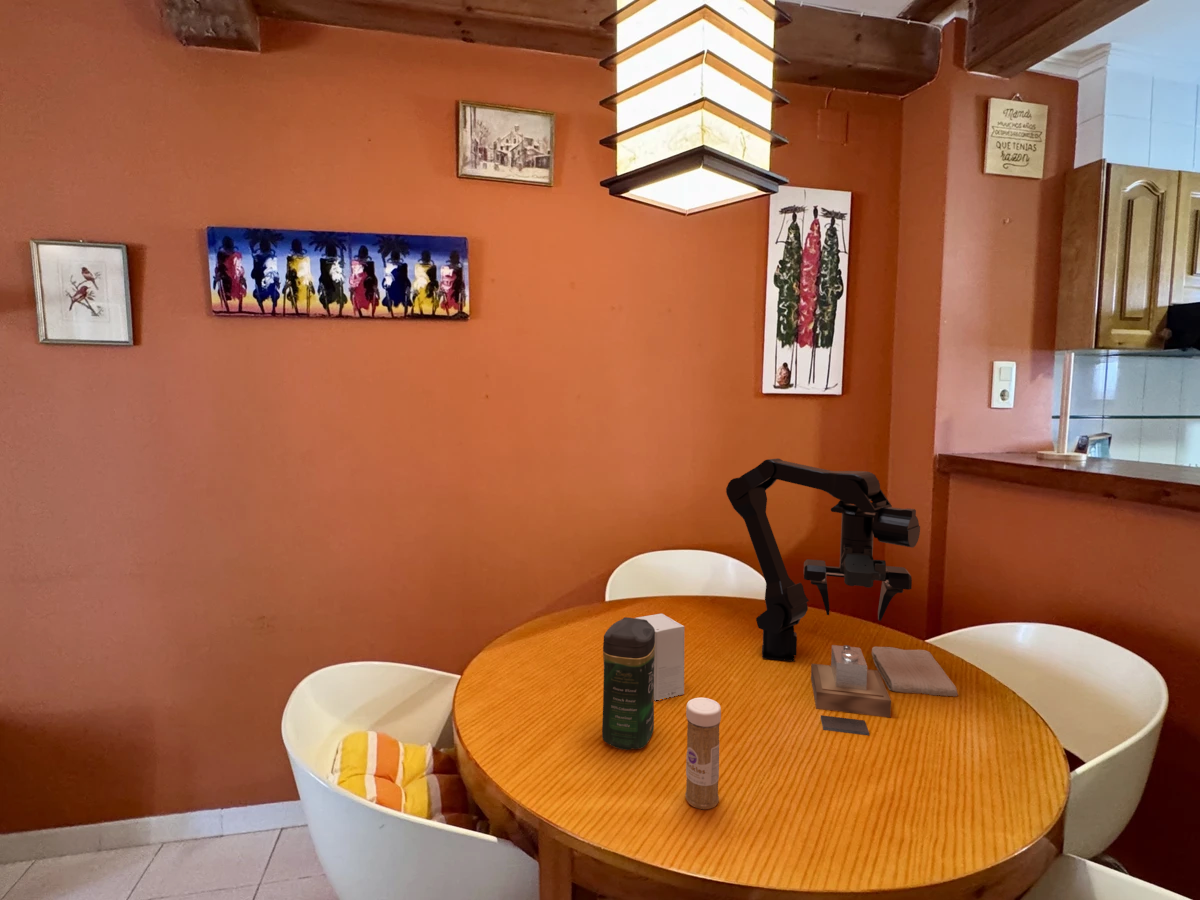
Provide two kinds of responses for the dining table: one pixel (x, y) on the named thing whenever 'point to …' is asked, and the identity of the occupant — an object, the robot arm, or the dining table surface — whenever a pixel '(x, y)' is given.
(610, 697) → the coffee jar
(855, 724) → the cover plate
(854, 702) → the tray
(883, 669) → the washcloth
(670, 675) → the small box
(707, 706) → the sprinkles bottle
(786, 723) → the dining table surface
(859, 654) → the housing
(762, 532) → the robot arm
